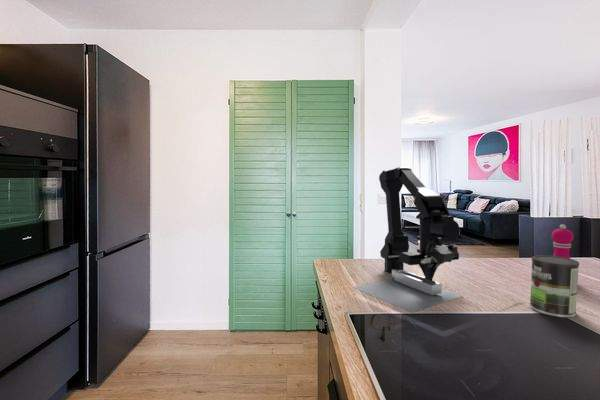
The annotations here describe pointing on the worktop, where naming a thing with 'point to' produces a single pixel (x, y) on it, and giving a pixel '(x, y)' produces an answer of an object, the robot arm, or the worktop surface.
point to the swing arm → (417, 282)
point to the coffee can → (554, 285)
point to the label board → (405, 295)
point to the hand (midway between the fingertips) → (429, 282)
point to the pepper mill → (562, 241)
